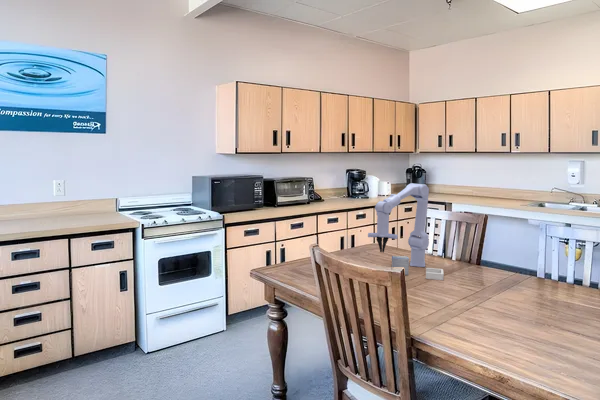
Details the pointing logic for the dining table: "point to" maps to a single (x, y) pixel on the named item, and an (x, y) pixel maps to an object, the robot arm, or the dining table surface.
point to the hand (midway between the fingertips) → (382, 252)
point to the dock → (434, 273)
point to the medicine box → (401, 262)
